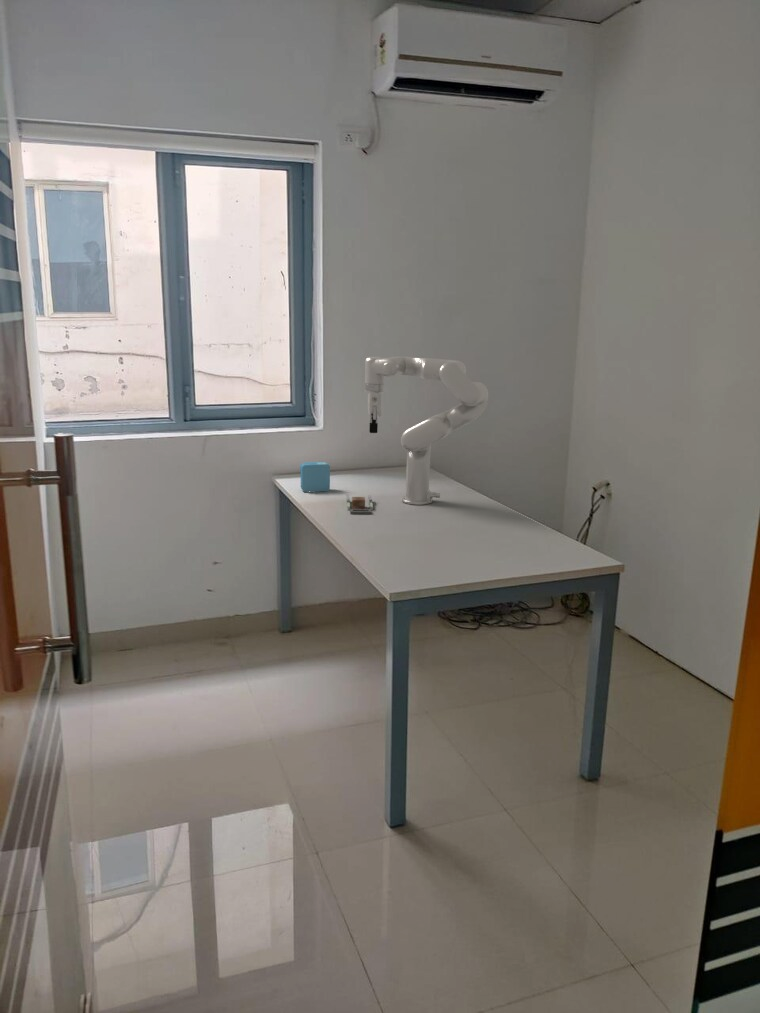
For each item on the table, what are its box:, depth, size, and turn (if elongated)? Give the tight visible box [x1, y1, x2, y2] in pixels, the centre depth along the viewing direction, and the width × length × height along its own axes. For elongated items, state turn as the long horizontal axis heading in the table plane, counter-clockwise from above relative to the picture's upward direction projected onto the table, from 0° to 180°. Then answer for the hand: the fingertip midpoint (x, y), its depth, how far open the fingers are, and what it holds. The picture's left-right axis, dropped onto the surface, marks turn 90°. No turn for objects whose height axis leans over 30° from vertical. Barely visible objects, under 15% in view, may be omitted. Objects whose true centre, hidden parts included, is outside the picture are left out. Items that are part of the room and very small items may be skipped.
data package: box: [300, 461, 331, 493], centre depth 334 cm, size 12×4×12 cm, turn 104°
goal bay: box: [346, 502, 374, 511], centre depth 309 cm, size 10×6×2 cm, turn 94°
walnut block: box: [351, 496, 366, 509], centre depth 309 cm, size 5×5×4 cm
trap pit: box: [349, 508, 372, 515], centre depth 302 cm, size 8×4×1 cm, turn 94°
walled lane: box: [346, 494, 373, 506], centre depth 316 cm, size 10×7×2 cm
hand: (373, 432), depth 321 cm, fingers closed
